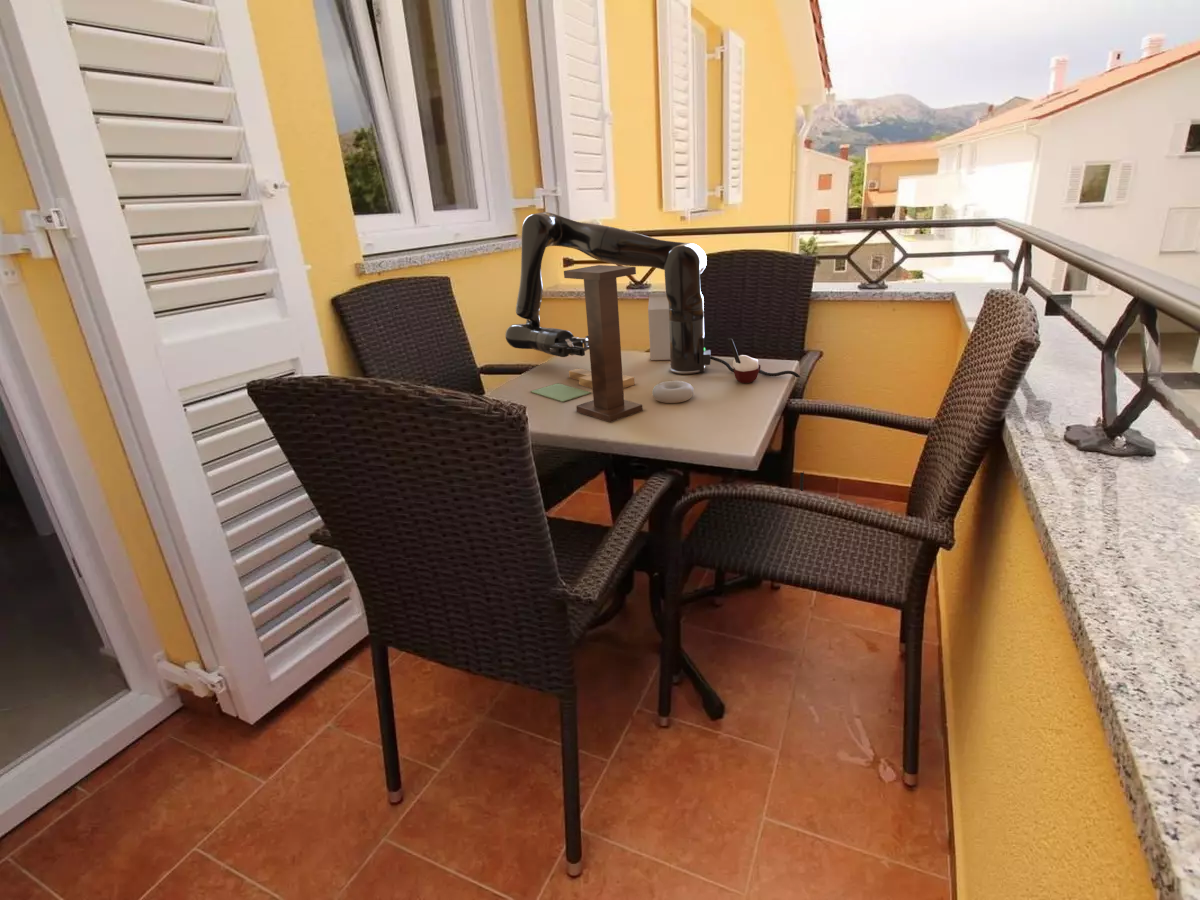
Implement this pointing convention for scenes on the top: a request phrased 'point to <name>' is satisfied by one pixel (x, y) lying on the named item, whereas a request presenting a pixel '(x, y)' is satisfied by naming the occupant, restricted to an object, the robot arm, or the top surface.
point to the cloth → (560, 392)
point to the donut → (672, 391)
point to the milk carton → (659, 326)
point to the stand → (604, 342)
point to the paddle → (586, 378)
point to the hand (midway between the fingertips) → (592, 349)
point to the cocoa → (744, 366)
